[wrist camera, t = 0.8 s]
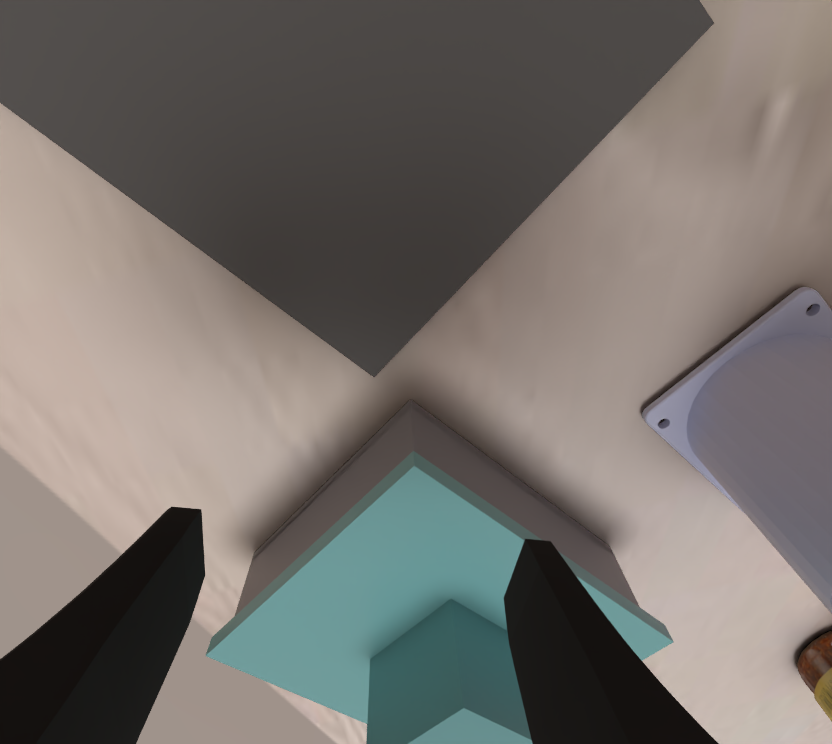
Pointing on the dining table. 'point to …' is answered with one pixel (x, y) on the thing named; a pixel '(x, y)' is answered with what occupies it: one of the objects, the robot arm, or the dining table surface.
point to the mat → (339, 130)
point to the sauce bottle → (818, 670)
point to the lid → (408, 616)
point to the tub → (455, 459)
